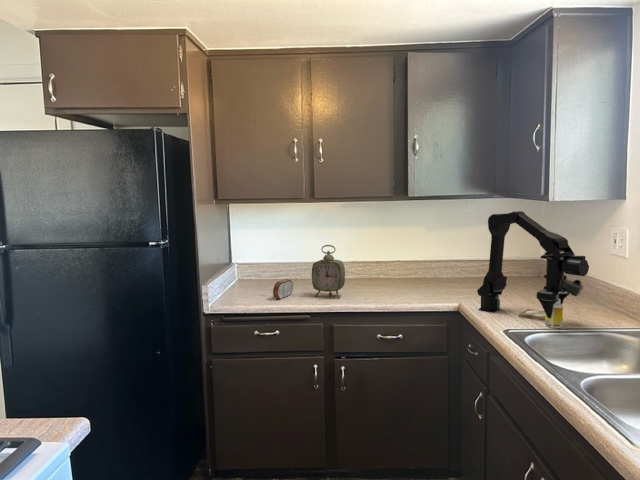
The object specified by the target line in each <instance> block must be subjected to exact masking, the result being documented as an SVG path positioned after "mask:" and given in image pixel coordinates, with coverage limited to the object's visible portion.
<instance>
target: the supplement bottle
mask: <svg viewBox="0 0 640 480" xmlns="http://www.w3.org/2000/svg"><path fill="white" fill-rule="evenodd" d="M558 300H559V301H557V302H556V303H555V304H554V307H553V312H552V317H551V318H548V317H547V315H546V313H545V321H544V325H545V326H546V327H547V328H550V329H561V328H563V320H564V318H563V314H564V313H563V312H564V311H563V310H564V305H563V304H560V302H561V301H560V300H561V299H560V298H558Z"/></svg>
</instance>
